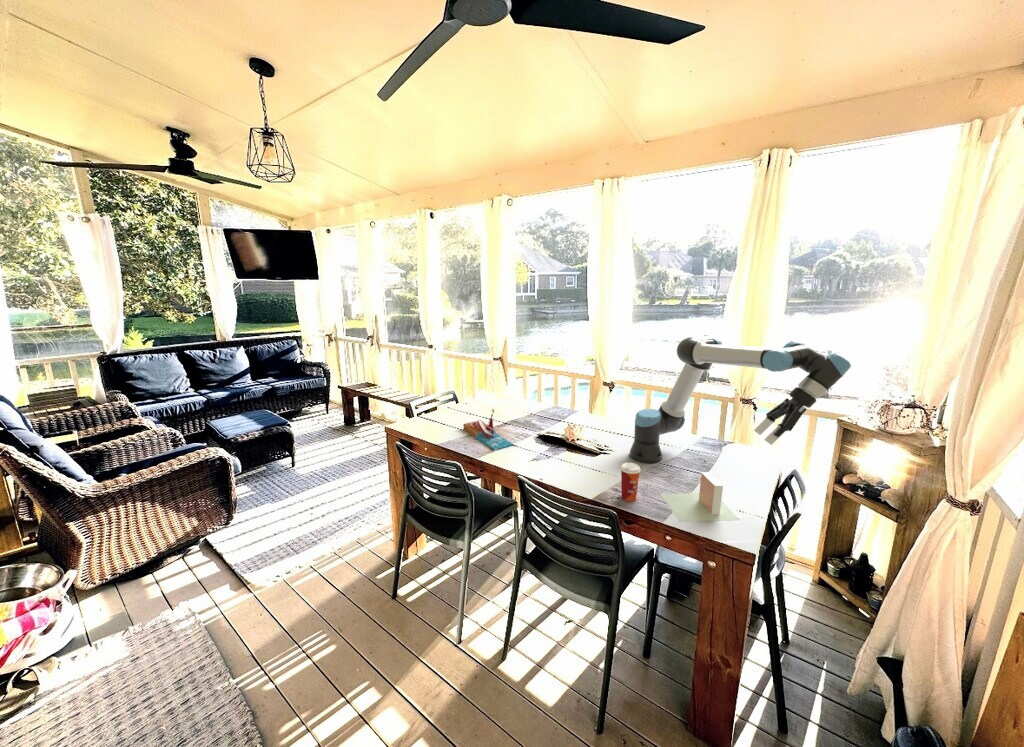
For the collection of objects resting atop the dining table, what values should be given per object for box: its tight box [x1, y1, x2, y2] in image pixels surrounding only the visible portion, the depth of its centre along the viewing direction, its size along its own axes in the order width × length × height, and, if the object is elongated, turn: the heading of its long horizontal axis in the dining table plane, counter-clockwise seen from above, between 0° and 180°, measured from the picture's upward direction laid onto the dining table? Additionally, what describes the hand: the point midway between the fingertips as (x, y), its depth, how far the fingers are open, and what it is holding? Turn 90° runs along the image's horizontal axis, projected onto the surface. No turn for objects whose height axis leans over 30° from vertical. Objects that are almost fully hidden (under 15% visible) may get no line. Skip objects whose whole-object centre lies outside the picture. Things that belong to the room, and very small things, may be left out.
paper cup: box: [620, 462, 642, 503], centre depth 159 cm, size 8×8×14 cm
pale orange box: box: [698, 471, 724, 515], centre depth 151 cm, size 10×3×12 cm, turn 1°
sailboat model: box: [463, 408, 514, 452], centre depth 225 cm, size 12×37×17 cm, turn 32°
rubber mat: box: [659, 492, 740, 522], centre depth 153 cm, size 19×22×1 cm
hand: (761, 437), depth 145 cm, fingers open, 13 cm apart
